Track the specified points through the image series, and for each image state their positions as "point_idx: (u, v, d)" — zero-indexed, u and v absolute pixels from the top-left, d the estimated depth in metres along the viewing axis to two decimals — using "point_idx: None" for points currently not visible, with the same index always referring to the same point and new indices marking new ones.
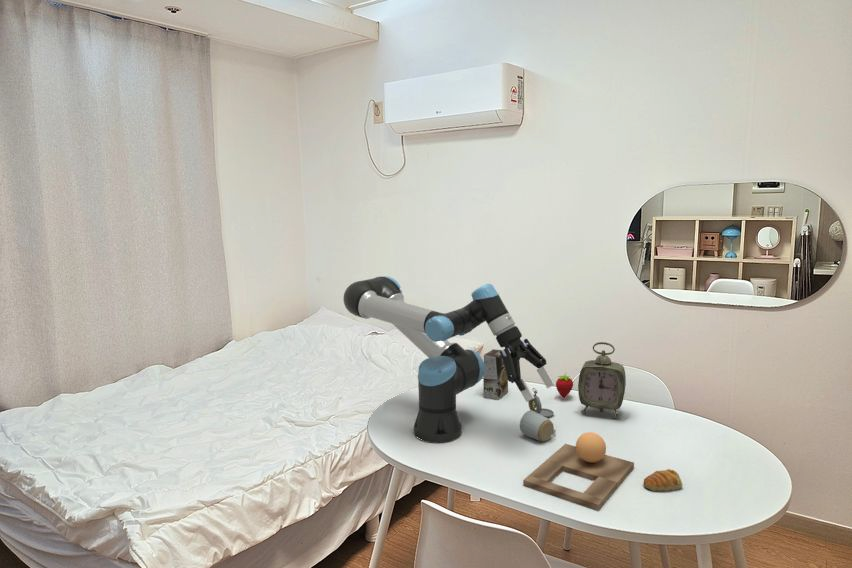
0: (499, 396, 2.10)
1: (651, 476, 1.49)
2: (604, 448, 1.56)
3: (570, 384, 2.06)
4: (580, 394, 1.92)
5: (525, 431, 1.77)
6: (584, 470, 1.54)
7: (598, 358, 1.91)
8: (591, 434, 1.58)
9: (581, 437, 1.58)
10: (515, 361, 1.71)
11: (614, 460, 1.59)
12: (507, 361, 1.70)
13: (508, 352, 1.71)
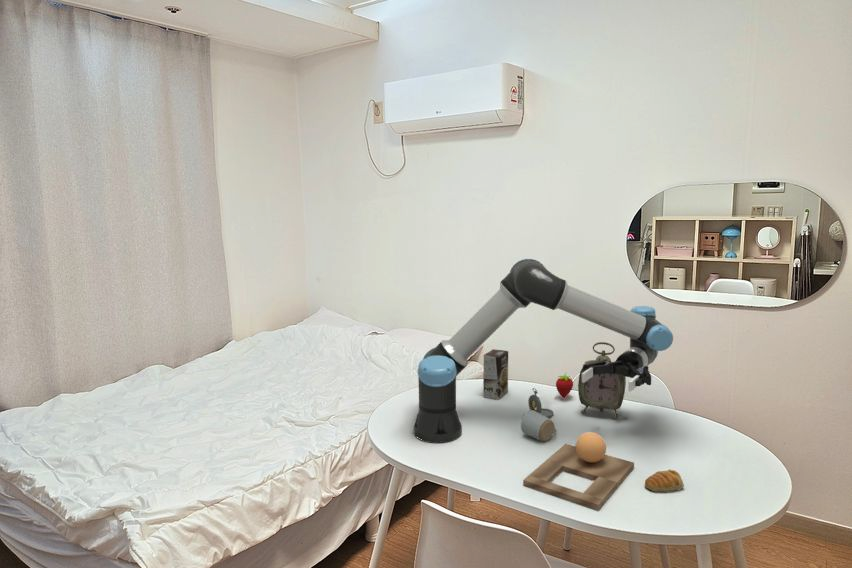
0: (499, 396, 2.10)
1: (652, 477, 1.49)
2: (604, 448, 1.56)
3: (570, 384, 2.06)
4: (580, 394, 1.92)
5: (526, 431, 1.77)
6: (584, 470, 1.54)
7: (598, 358, 1.91)
8: (591, 434, 1.58)
9: (581, 437, 1.58)
10: None
11: (614, 460, 1.59)
12: None
13: None
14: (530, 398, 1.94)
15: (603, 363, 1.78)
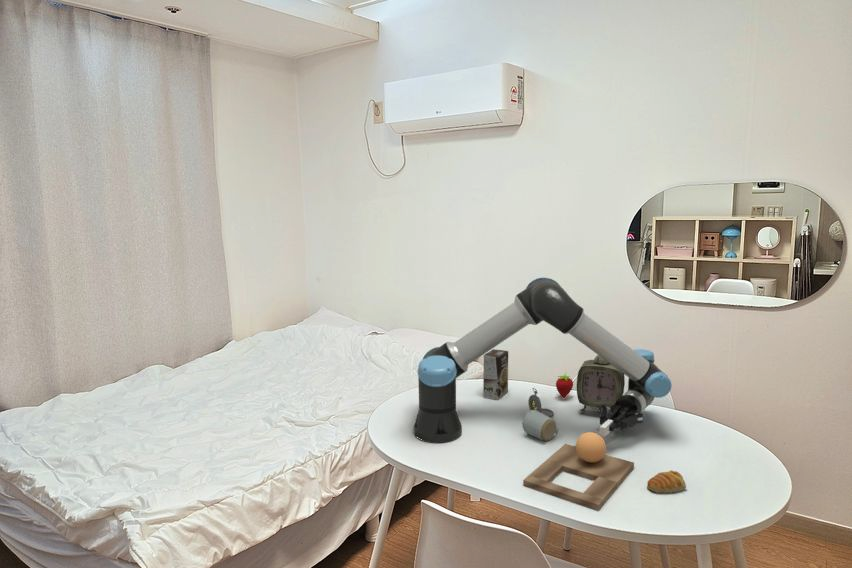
0: (499, 396, 2.10)
1: (655, 478, 1.48)
2: (604, 448, 1.56)
3: (570, 384, 2.06)
4: (578, 393, 1.93)
5: (528, 430, 1.77)
6: (584, 470, 1.54)
7: (597, 358, 1.92)
8: (591, 434, 1.58)
9: (581, 437, 1.58)
10: None
11: (614, 460, 1.59)
12: (634, 421, 1.72)
13: None
14: (530, 398, 1.94)
15: (606, 409, 1.79)
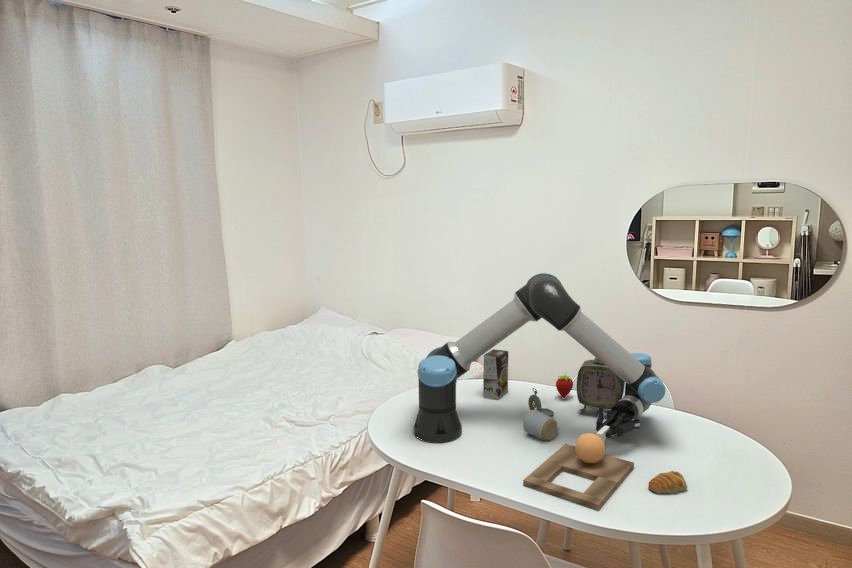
0: (499, 396, 2.10)
1: (656, 478, 1.48)
2: (603, 449, 1.56)
3: (570, 384, 2.06)
4: (578, 393, 1.93)
5: (529, 430, 1.77)
6: (584, 470, 1.54)
7: None
8: (590, 436, 1.57)
9: (580, 439, 1.58)
10: None
11: (614, 460, 1.59)
12: (631, 427, 1.68)
13: None
14: (530, 398, 1.94)
15: (603, 415, 1.75)
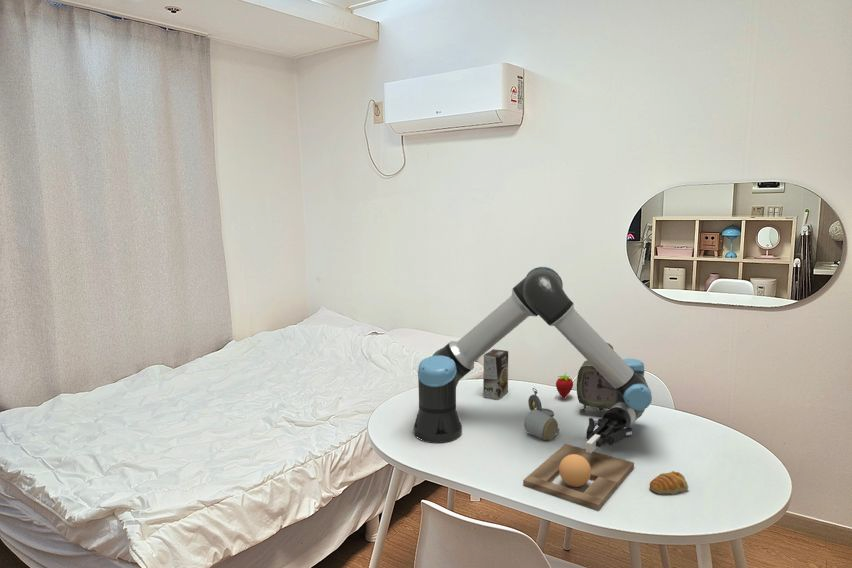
0: (499, 396, 2.10)
1: (657, 479, 1.48)
2: None
3: (570, 384, 2.06)
4: (578, 393, 1.93)
5: (529, 430, 1.77)
6: None
7: None
8: None
9: None
10: None
11: (614, 460, 1.59)
12: (622, 436, 1.63)
13: None
14: (530, 398, 1.94)
15: (594, 423, 1.69)
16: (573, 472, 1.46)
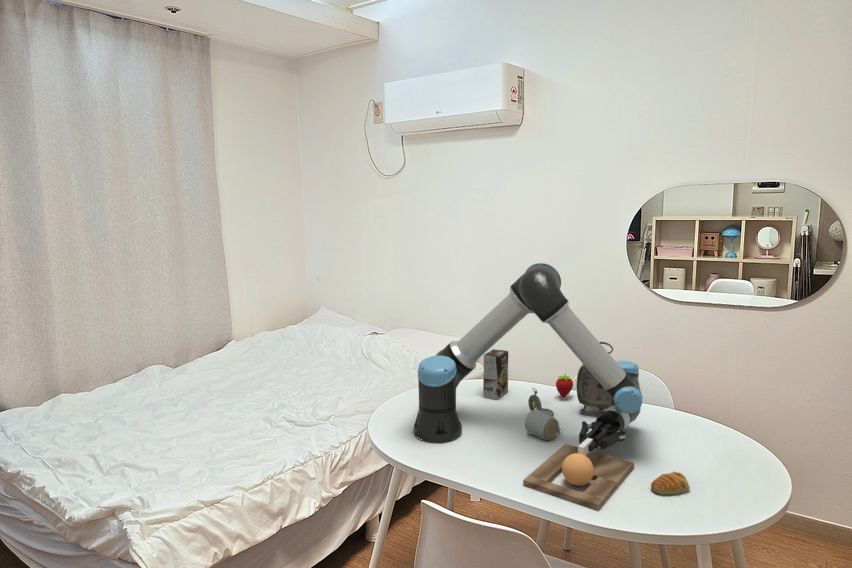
0: (499, 396, 2.10)
1: (658, 480, 1.47)
2: None
3: (570, 384, 2.06)
4: (578, 393, 1.93)
5: (530, 429, 1.78)
6: None
7: None
8: None
9: None
10: None
11: (614, 460, 1.59)
12: (615, 440, 1.60)
13: None
14: (530, 398, 1.94)
15: (587, 426, 1.67)
16: (577, 468, 1.46)
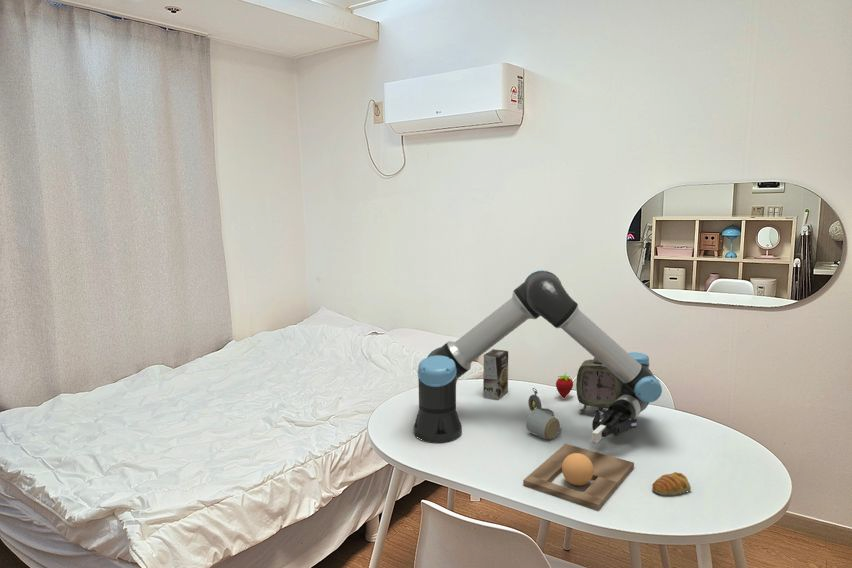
0: (499, 396, 2.10)
1: (660, 480, 1.47)
2: (592, 476, 1.48)
3: (570, 384, 2.06)
4: (578, 393, 1.93)
5: (532, 429, 1.78)
6: None
7: None
8: None
9: None
10: None
11: (614, 460, 1.59)
12: (627, 427, 1.68)
13: None
14: (530, 398, 1.94)
15: (599, 414, 1.74)
16: (577, 468, 1.47)
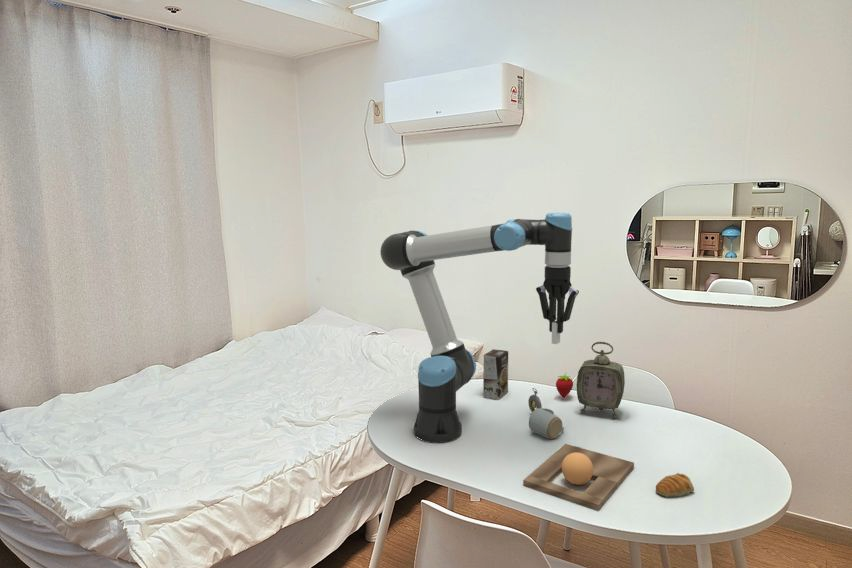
0: (499, 396, 2.10)
1: (663, 482, 1.46)
2: (591, 475, 1.49)
3: (570, 384, 2.06)
4: (578, 393, 1.93)
5: (534, 428, 1.78)
6: None
7: (597, 357, 1.92)
8: None
9: None
10: (563, 302, 1.72)
11: (614, 460, 1.59)
12: (572, 303, 1.70)
13: None
14: (530, 398, 1.94)
15: (543, 294, 1.75)
16: (576, 465, 1.47)
